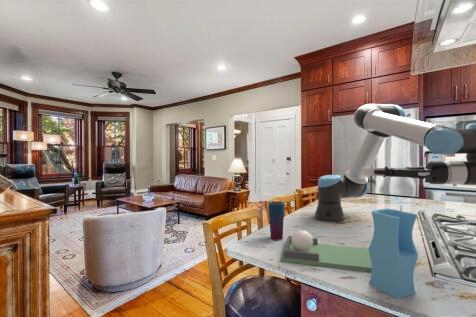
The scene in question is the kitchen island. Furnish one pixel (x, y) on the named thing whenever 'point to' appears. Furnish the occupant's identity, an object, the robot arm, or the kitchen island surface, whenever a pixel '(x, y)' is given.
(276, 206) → the cup
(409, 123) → the robot arm
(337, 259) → the mat
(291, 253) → the grey u-shaped wall
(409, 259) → the vase
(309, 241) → the ball
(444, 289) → the kitchen island surface
